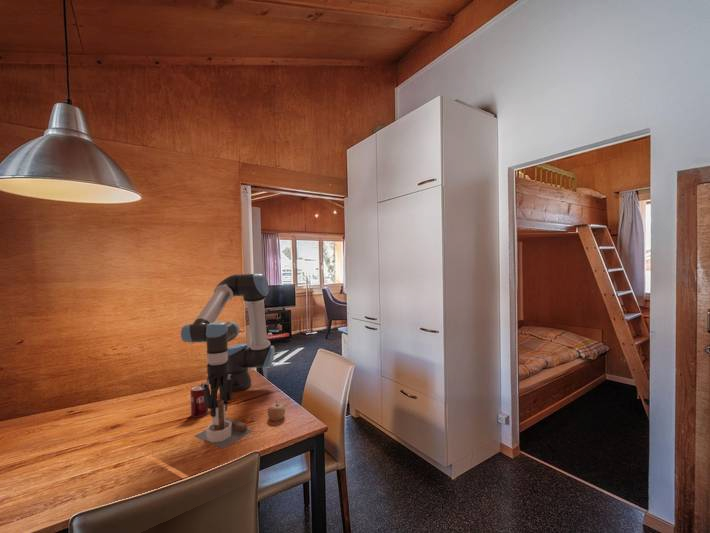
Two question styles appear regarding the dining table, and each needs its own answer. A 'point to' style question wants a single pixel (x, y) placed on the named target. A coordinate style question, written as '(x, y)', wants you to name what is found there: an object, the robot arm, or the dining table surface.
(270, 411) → the fruit
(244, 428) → the bar
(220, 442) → the slate board
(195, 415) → the soda can
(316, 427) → the dining table surface
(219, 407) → the brown wooden bar
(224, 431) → the white octagonal bowl
